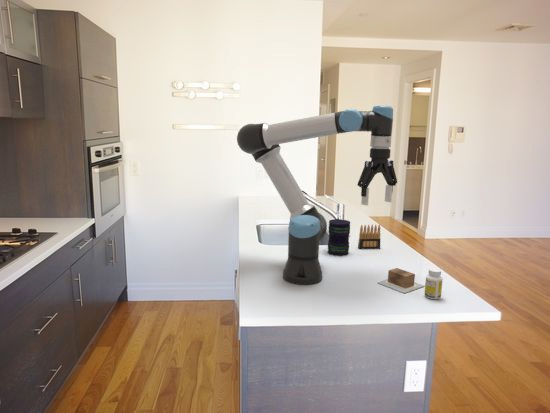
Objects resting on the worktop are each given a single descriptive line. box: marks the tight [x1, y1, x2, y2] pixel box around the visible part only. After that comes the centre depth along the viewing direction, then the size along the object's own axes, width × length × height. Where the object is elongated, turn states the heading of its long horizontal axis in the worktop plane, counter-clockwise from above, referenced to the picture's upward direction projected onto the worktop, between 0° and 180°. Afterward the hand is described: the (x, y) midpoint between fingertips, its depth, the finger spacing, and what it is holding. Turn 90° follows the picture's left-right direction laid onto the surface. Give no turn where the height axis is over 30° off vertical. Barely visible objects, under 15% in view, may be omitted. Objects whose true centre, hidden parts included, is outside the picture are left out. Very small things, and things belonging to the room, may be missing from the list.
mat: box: [377, 278, 425, 294], centre depth 154 cm, size 12×12×1 cm
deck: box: [387, 267, 416, 288], centre depth 154 cm, size 8×5×4 cm, turn 37°
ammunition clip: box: [357, 224, 381, 250], centre depth 200 cm, size 11×2×12 cm, turn 98°
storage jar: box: [327, 218, 351, 257], centre depth 191 cm, size 10×10×15 cm
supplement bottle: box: [424, 267, 444, 300], centre depth 143 cm, size 5×5×10 cm
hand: (376, 203), depth 160 cm, fingers open, 13 cm apart
